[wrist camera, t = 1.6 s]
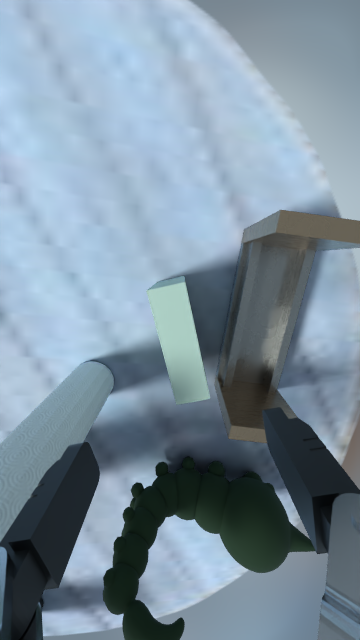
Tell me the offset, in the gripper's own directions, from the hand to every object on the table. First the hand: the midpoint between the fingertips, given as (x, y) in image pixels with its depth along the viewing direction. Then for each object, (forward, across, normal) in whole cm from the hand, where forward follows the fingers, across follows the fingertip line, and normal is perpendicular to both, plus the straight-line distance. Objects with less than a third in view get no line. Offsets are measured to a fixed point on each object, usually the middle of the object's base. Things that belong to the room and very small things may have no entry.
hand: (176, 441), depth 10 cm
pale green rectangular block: (+20, 0, 0) cm, 20 cm away
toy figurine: (+20, +1, +26) cm, 33 cm away
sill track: (+20, -10, +2) cm, 22 cm away
